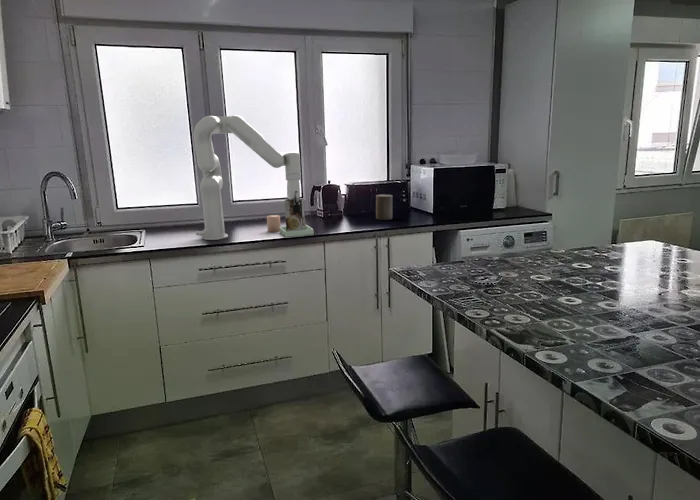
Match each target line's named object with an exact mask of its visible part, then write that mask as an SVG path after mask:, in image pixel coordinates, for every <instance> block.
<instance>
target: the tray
mask: <svg viewBox="0 0 700 500" xmlns="http://www.w3.org/2000/svg"><path fill="white" fill-rule="evenodd" d="M279 228H280V231H279V233H280V234H281V235H282V236H283V238H284V239H285V238H286V239H287V238H299V237H300V238H301V237H309V236H314V235H315V233H314V232H315V231H314V228H312V227H311V226H309V225H307V224H305V230H299V231H287V232H286V226H281V227H279Z"/></svg>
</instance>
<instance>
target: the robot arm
mask: <svg viewBox="0 0 700 500" xmlns="http://www.w3.org/2000/svg"><path fill="white" fill-rule="evenodd" d="M194 126H195V127H194V130H193V140H194V147H195V154H196V160H197V161H196V162H197V167H198V169H200V171H201V172H202V178H201V181H200V183H199V190H200V191H199V192H200V195H201V196H200V197H201V204H202V210H203V213H202V214H203V223H204V228H203V230H200V231H199V230H197V231H195V235H196V236H202V239H203V240H205V241H216V240H217V241H218V240H223V239H227V238H229V234H228V233H226V232H225V231H226V230H225V221H224V220H225V219H224V209H223V200H222V199H223V198H222V192H221V191H222V188H223V186H224V181H223V173H222V169H221V167H222V166H221V162H220V159H219V157H218V155H217V154H215V151H214V144H213V143H214V142H213V135H217V134H219V135H221V134H225V135H226V134H233V135H234V136H235V137H236V138H238V139H239V140H240V141H241V142H243V143H244V144H245V145H246V146H247V147H248V148H249V149H251V151H252V152H254V153H255V154H256V155H258V156H259V157H260V158H261V159H262V160H264V161H265V162H266V163H268V164H267V165H269V166H271V167H272V168H275V169H279V168H281V167H284V170H285V171H284V172H285V180H286V197H287V199H290V200H292V199H293V202H294V205H293V210H294V213H299V212H300V203H299V199H301V188H300V181H301V180H302V177H301V175H302V174H301V156H300V152H297V151H290V152H289V151H287V152H281V151H278V150H276V149H275V148H274V147H273V146H272V145H271V144H270V143H269V142H268V141H267V140H266V139H265V138H264V136H263V135H262V134H261V132H259V131H257V130H256V129H255V128H254V127H253V126H252V125H250V123H248V122H247V121H246V120H245V119H244V118H243V117H242V116H240V115H237V114H235V115H230V116H229V115H228V116H222V115H221V116H219V115H218V116H215V115H206V116H204V117H202V118H201V119H200V120H199V121H197V123H196V125H194Z"/></svg>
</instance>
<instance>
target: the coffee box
mask: <svg viewBox="0 0 700 500" xmlns="http://www.w3.org/2000/svg"><path fill="white" fill-rule="evenodd" d="M299 203H300V212H299V213H294V210H293V205H294V202H293V199H292V200H290V199H288V198H287V199H285V200H284V214H285V215H284V216H285V227H286V232H287V231H299V230H305V225H306V216H305V200H304V198H300V199H299Z"/></svg>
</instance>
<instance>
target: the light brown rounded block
mask: <svg viewBox="0 0 700 500" xmlns="http://www.w3.org/2000/svg"><path fill="white" fill-rule="evenodd" d="M266 225H267V232H268V233H278V232H279V233H280V228H279V227H282V226H281V215H279V214H271V215H267V216H266Z"/></svg>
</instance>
